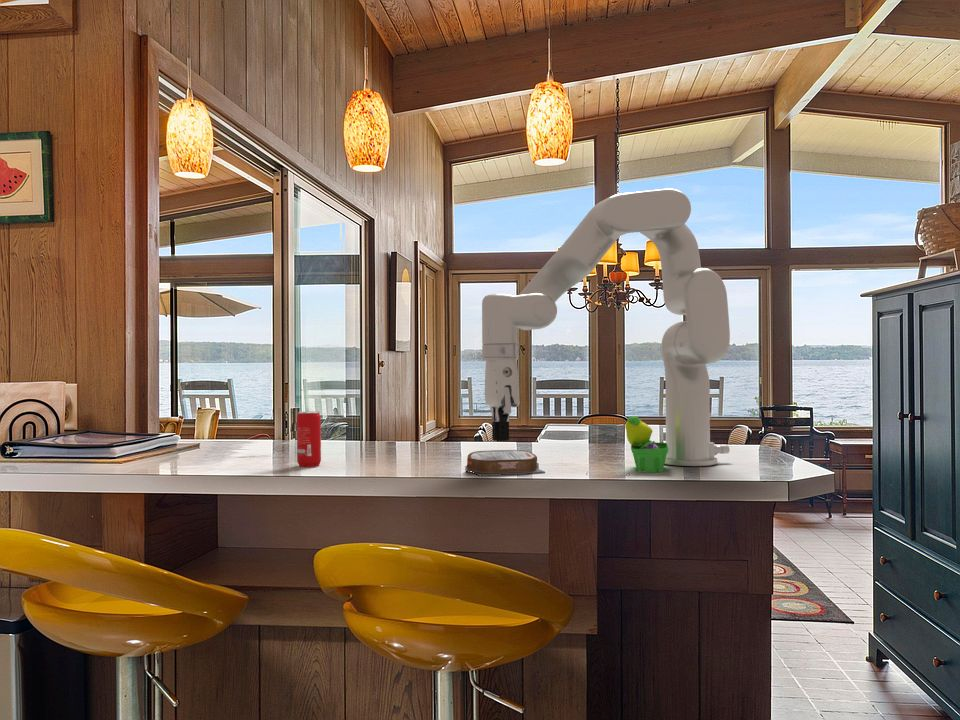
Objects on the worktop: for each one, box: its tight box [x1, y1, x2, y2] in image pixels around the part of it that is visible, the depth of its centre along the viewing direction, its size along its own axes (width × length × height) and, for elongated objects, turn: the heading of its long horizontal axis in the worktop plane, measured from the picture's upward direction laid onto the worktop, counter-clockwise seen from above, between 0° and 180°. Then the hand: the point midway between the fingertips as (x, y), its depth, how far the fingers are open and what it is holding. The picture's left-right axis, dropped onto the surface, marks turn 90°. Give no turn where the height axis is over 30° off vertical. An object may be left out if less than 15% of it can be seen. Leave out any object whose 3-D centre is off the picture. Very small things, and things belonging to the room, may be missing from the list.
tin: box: [465, 449, 538, 473], centre depth 161 cm, size 15×3×8 cm
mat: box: [464, 462, 546, 476], centre depth 160 cm, size 16×7×1 cm, turn 107°
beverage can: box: [296, 410, 322, 468], centre depth 172 cm, size 5×5×12 cm
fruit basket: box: [624, 415, 669, 473], centre depth 164 cm, size 11×9×11 cm
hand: (500, 440), depth 162 cm, fingers closed
